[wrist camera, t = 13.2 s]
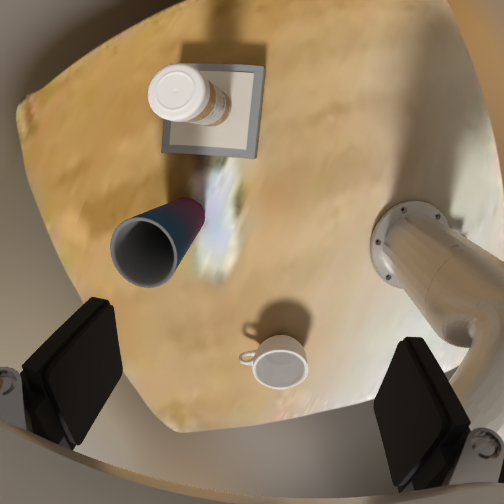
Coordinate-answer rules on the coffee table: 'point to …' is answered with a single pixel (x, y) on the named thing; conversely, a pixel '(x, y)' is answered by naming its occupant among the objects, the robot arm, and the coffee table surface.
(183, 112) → the sprinkles bottle
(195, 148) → the base
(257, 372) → the teacup
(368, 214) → the coffee table surface
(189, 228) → the cup
